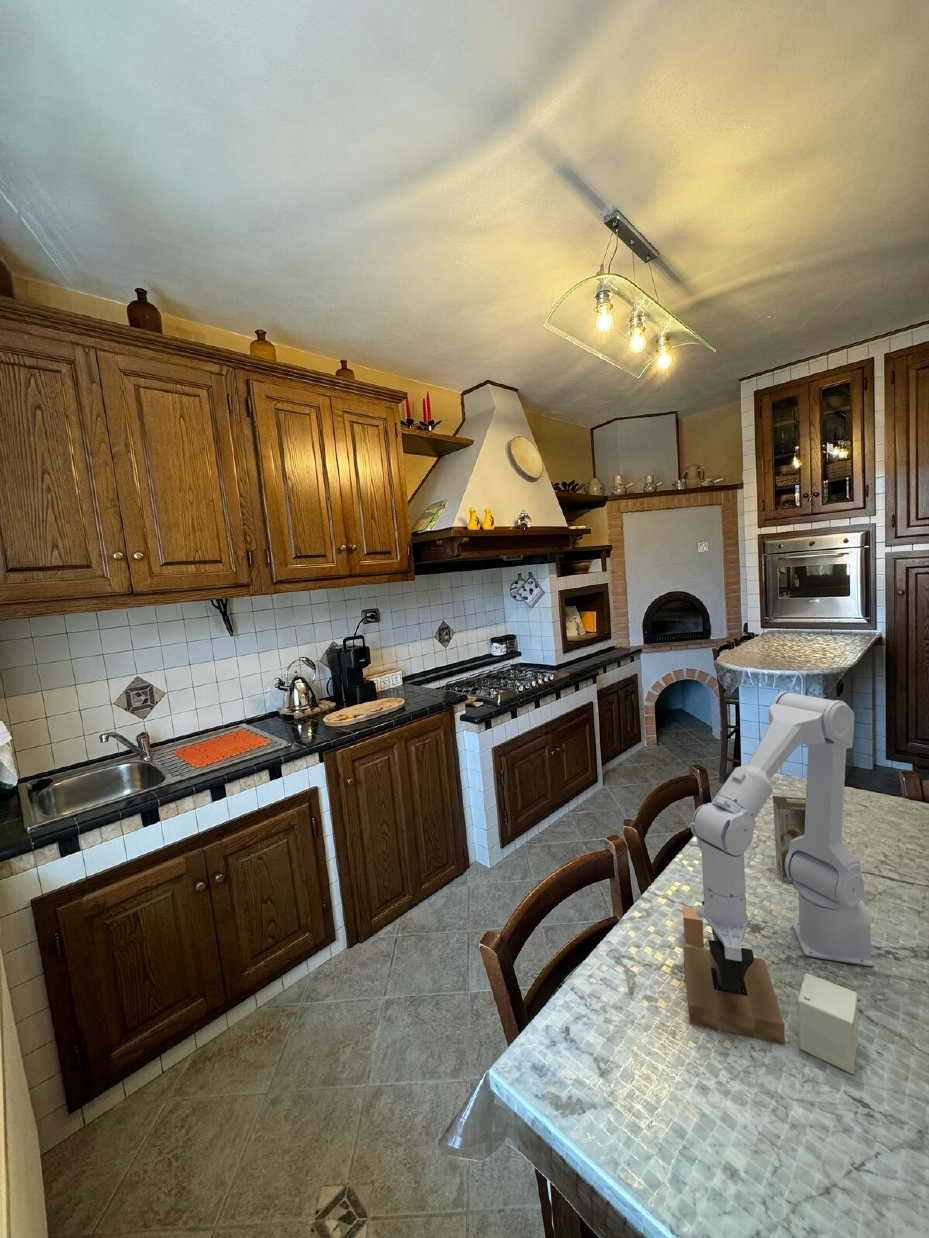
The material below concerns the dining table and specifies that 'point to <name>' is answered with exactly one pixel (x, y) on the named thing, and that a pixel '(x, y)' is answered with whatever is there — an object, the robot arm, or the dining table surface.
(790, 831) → the coffee box
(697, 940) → the orange brown block
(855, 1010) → the product box
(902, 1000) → the dining table surface
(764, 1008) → the hole block
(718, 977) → the long metal pin
